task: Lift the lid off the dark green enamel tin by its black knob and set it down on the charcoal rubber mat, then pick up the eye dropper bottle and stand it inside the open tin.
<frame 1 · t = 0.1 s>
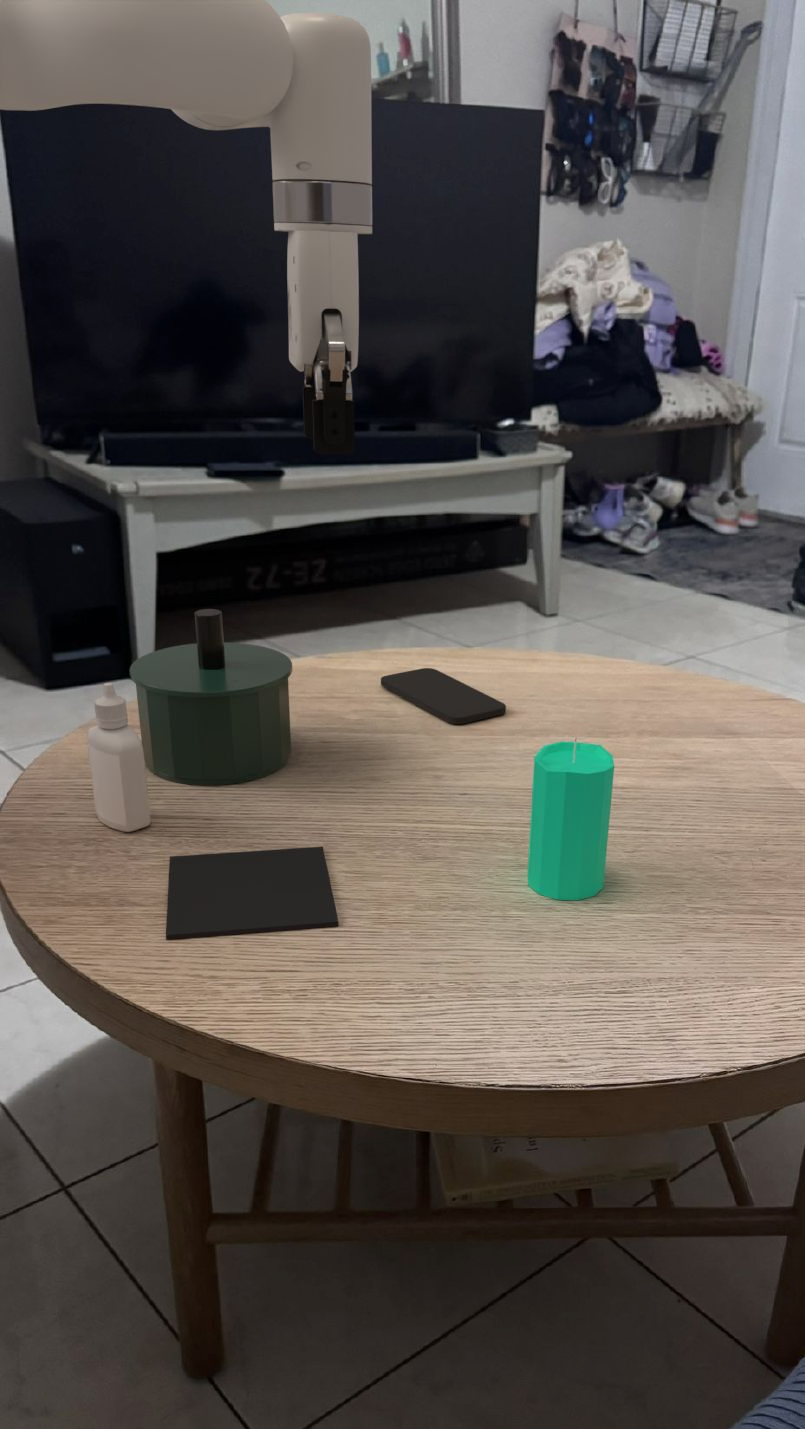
hand: (328, 444, 97), 29 cm above the table, tool pointing down, fingers open, 9 cm apart
tin lid: (212, 670, 107), point 8 cm above the table, touching tin
phone: (441, 700, 127), on the table
mat: (250, 892, 87), on the table
candle: (564, 883, 90), on the table
tin: (218, 756, 111), on the table
eye dropper bottle: (123, 822, 98), on the table
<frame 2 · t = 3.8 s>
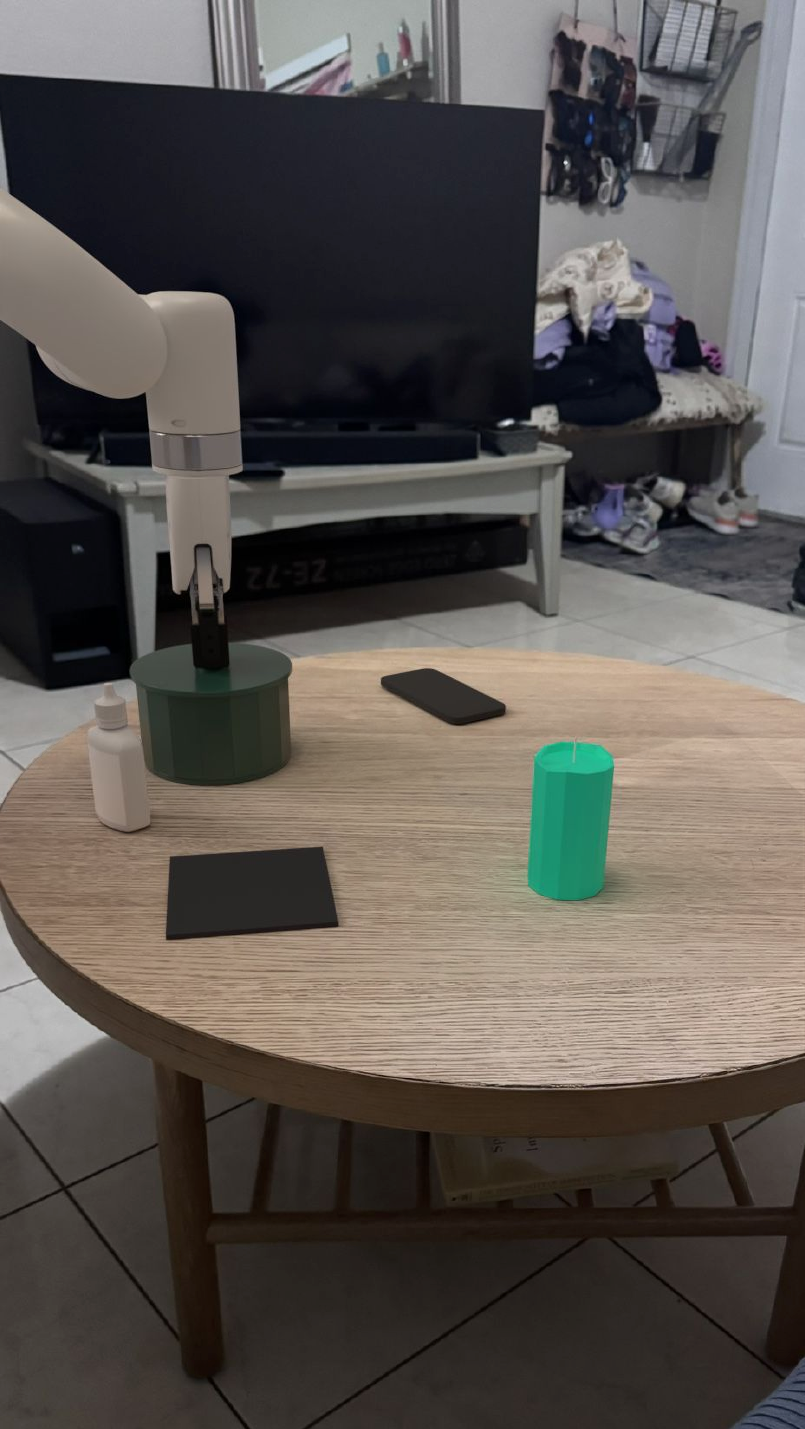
hand: (211, 659, 106), 10 cm above the table, tool pointing down, fingers closed on tin lid, 2 cm apart
tin lid: (212, 670, 107), point 9 cm above the table, touching gripper, tin
everything else where it was.
when the fingers open (2 cm above the table, at t = 12.1 s): tin lid stays where it is, resting on mat.
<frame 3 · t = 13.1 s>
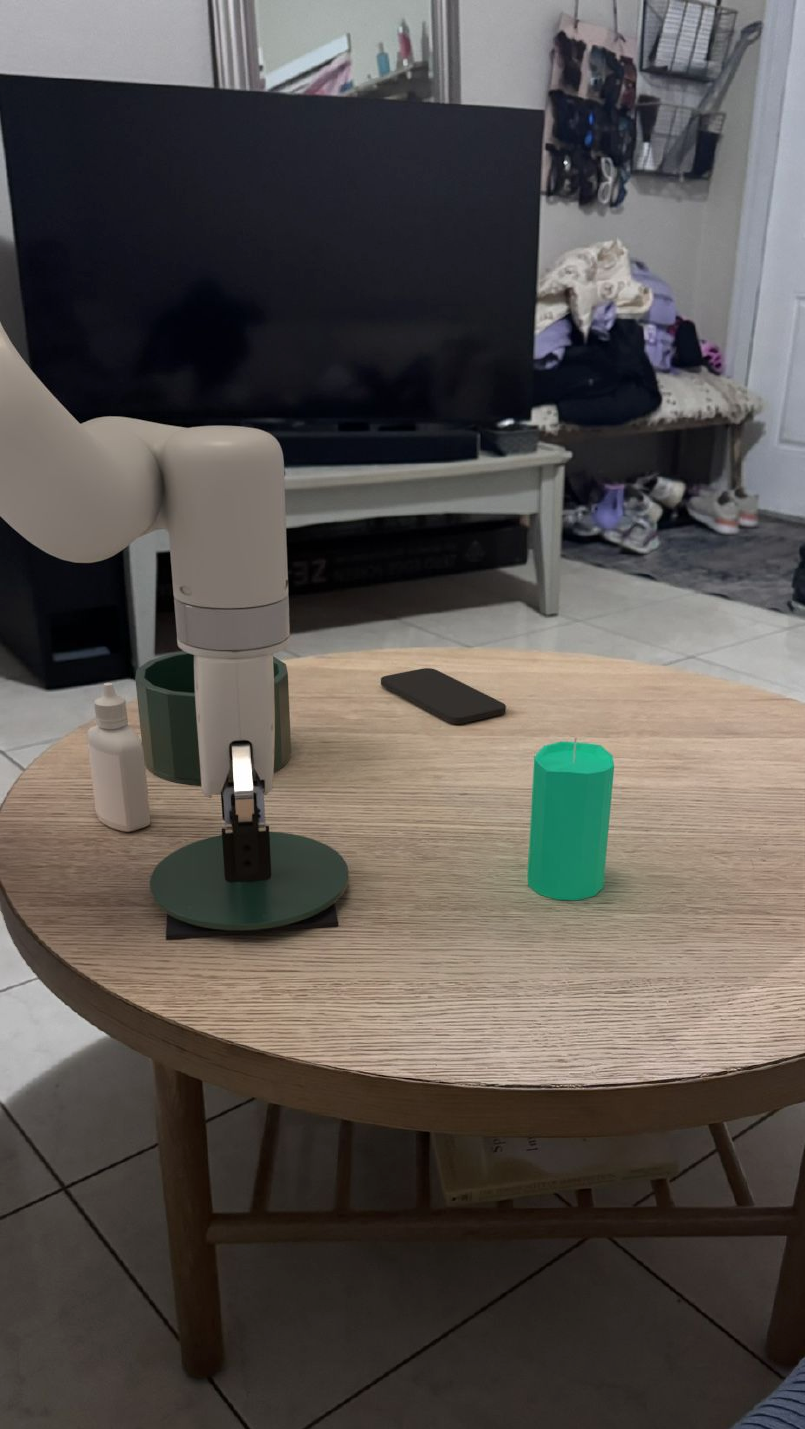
hand: (245, 848, 86), 4 cm above the table, tool pointing down, fingers open, 9 cm apart
tin lid: (250, 880, 87), point 1 cm above the table, touching mat
everything else where it was.
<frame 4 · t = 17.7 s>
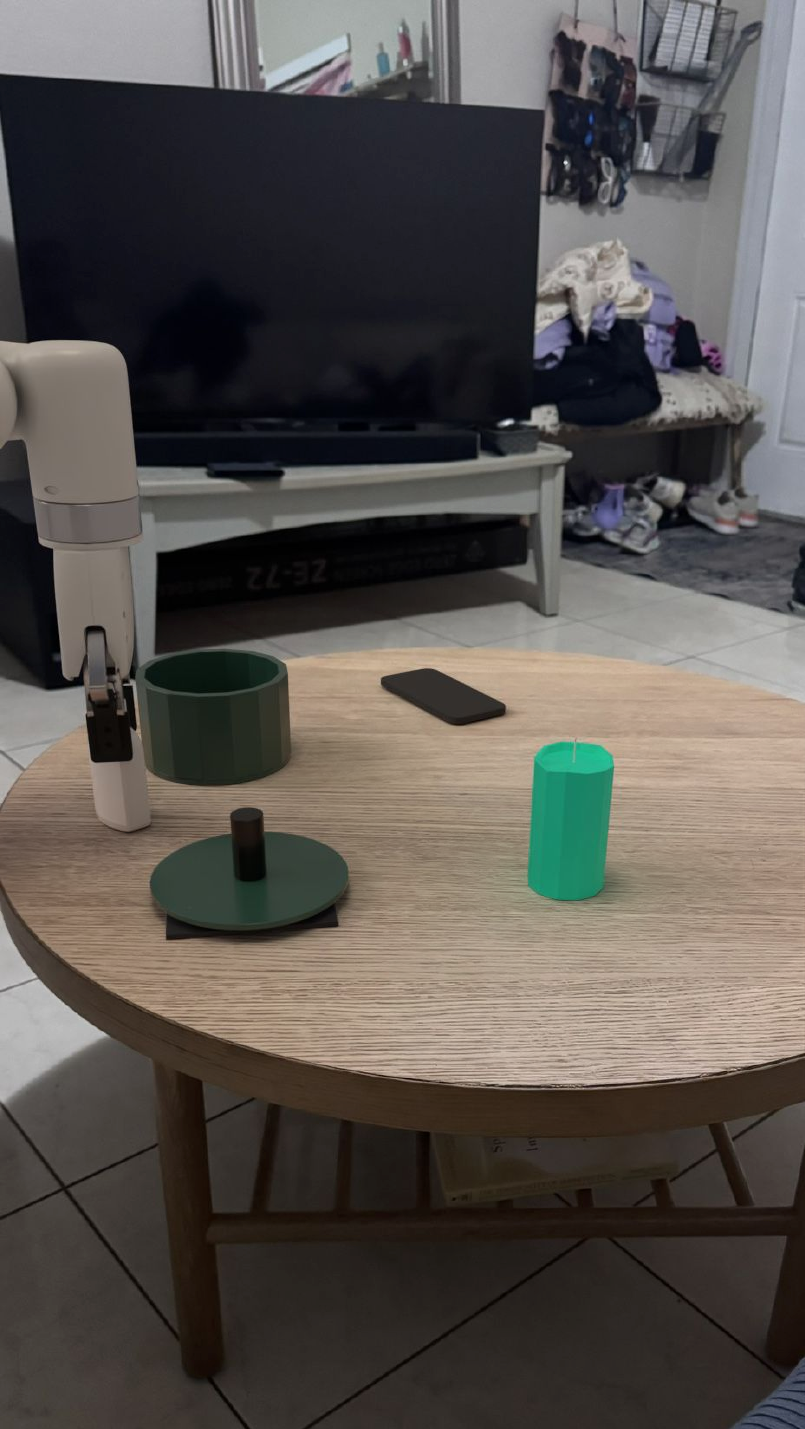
hand: (114, 743, 95), 7 cm above the table, tool pointing down, fingers closed on eye dropper bottle, 5 cm apart
eye dropper bottle: (123, 822, 98), on the table, touching gripper
everything else where it was.
when the fingers open (7 cm above the table, at t = 25.6 s): eye dropper bottle stays where it is, resting on tin.
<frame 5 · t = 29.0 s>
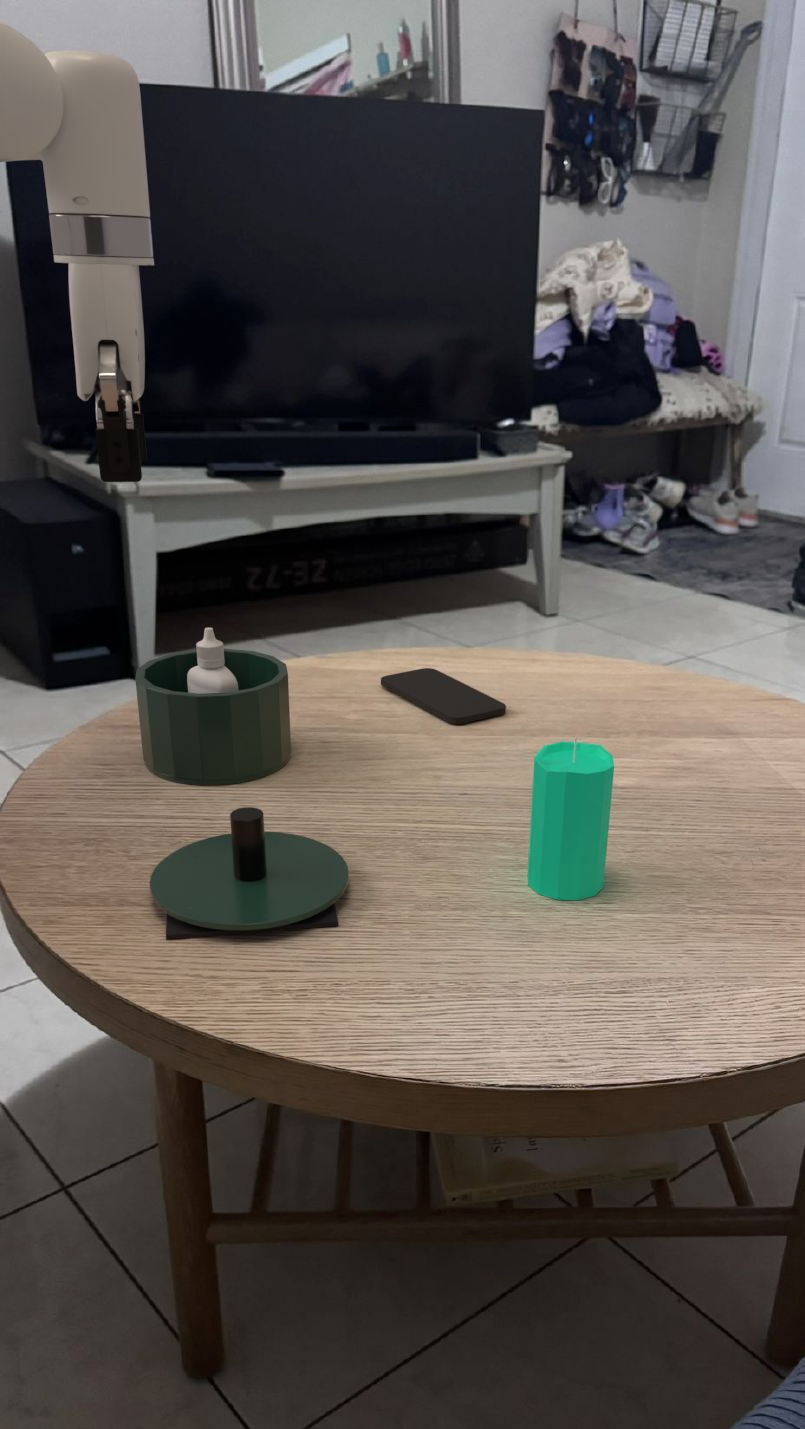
hand: (125, 470, 98), 26 cm above the table, tool pointing down, fingers open, 9 cm apart
eye dropper bottle: (217, 753, 110), resting on tin
everything else where it was.
at the end: tin lid 0.1 cm off-centre on the mat, point 1.0 cm above the mat's base; eye dropper bottle inside the target area in the tin (0.1 cm from its centre), point 0.3 cm above the tin's base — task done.
